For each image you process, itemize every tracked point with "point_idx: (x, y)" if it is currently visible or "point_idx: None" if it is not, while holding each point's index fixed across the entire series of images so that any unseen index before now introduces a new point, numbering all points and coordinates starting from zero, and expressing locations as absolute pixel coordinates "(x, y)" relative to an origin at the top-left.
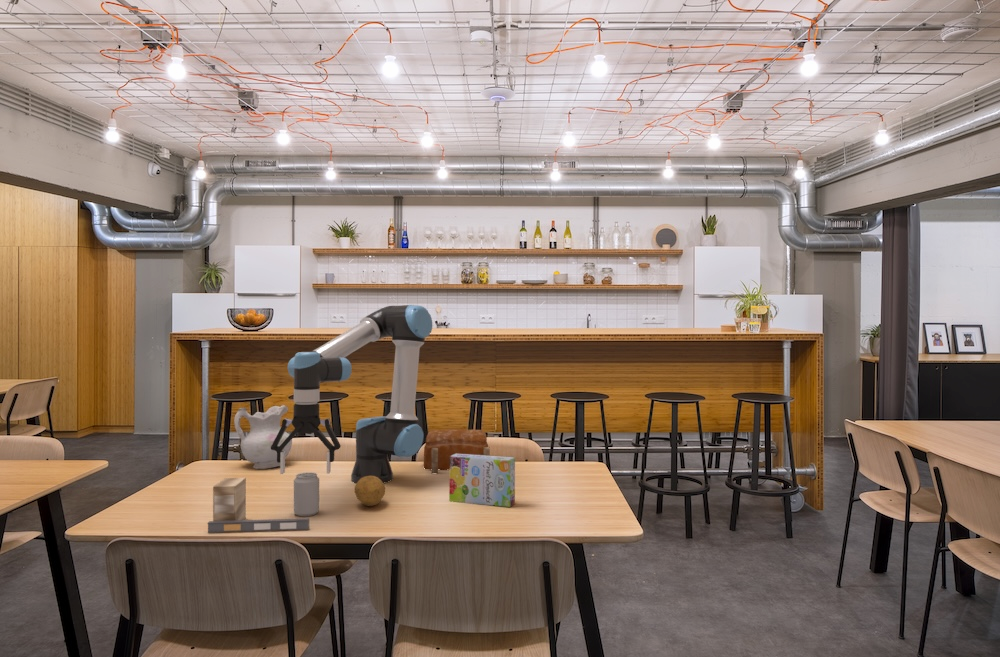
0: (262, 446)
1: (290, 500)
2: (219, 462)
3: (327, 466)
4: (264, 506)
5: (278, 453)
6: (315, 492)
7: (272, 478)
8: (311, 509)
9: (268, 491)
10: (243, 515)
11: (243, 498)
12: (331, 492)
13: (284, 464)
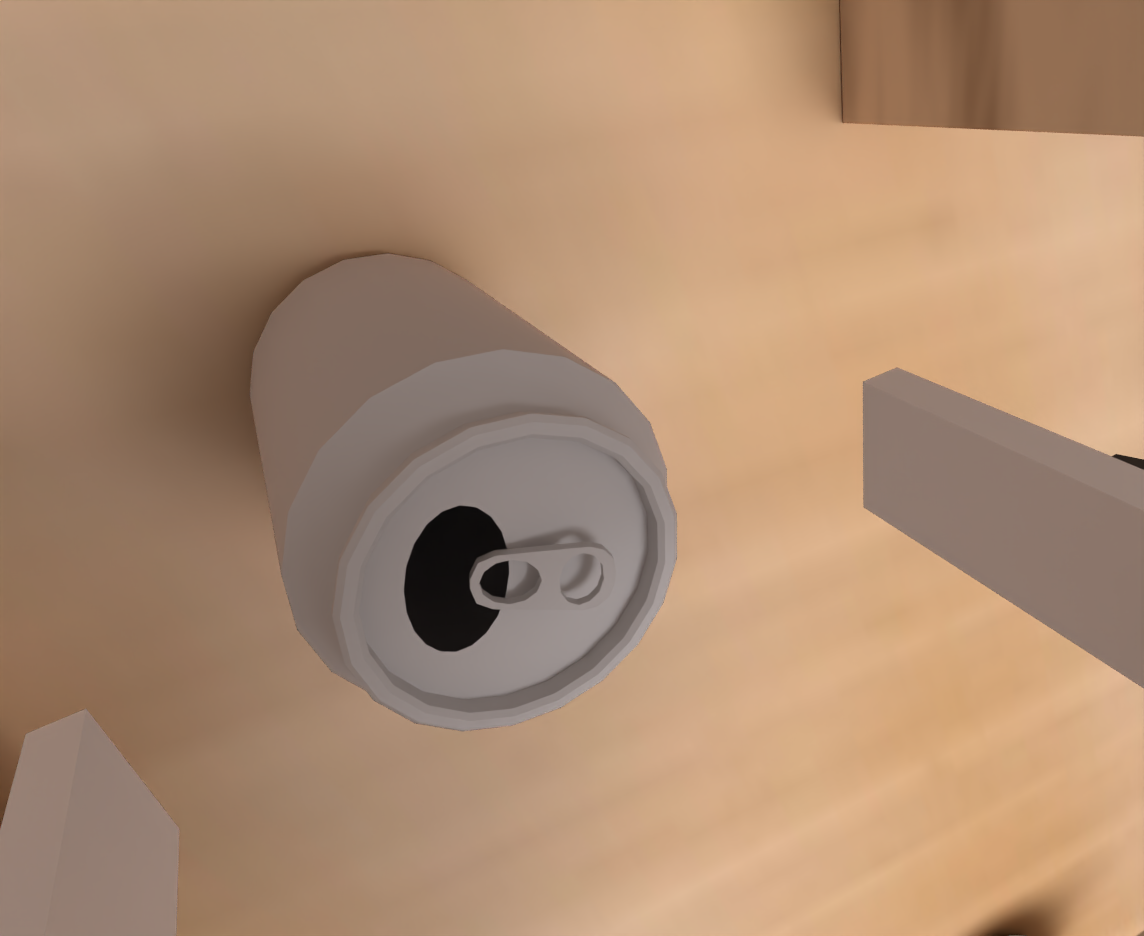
0: None
1: (683, 639)
2: (1139, 919)
3: (40, 849)
4: (804, 457)
5: None
6: (273, 437)
7: (912, 893)
8: (282, 319)
9: (872, 726)
10: (874, 45)
11: (1019, 35)
12: (482, 897)
13: (971, 543)
